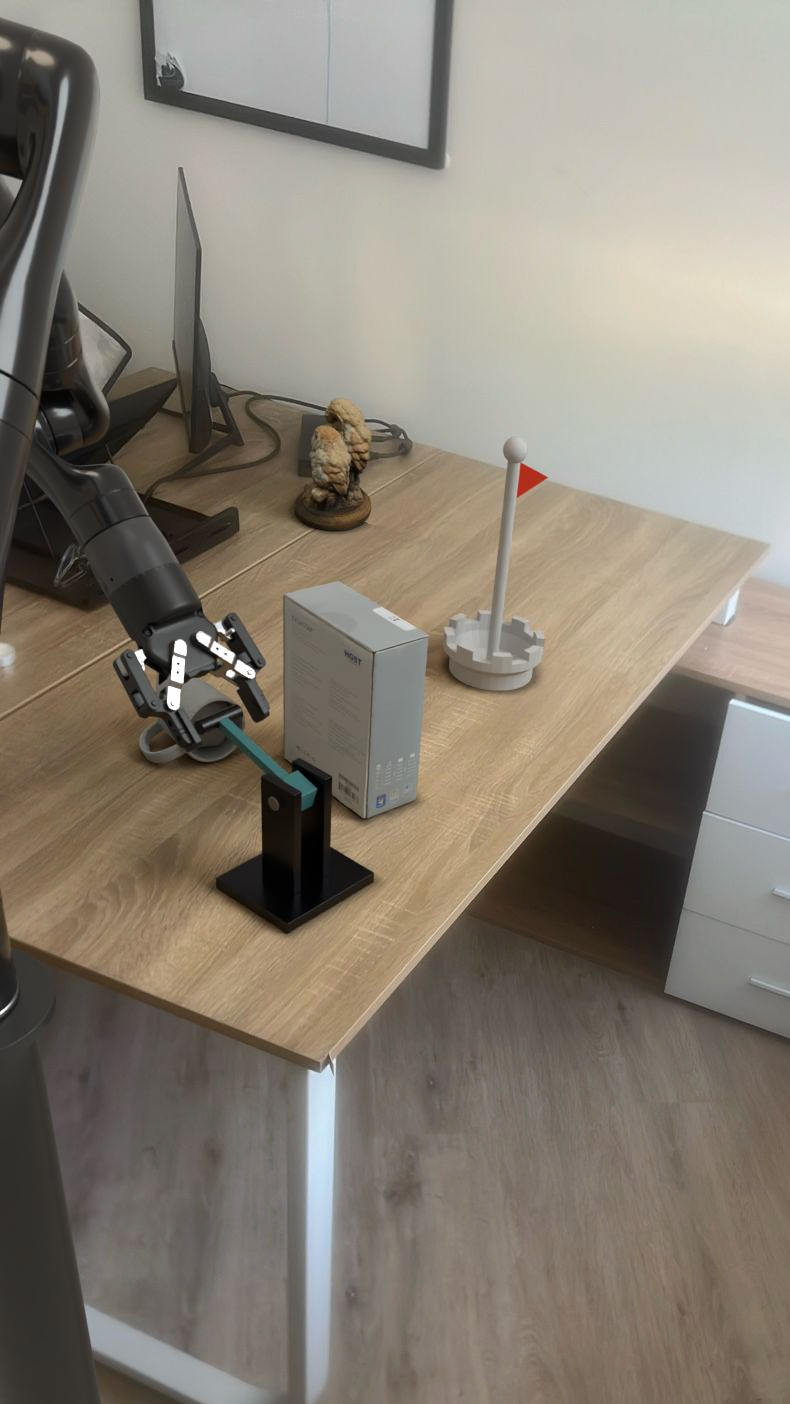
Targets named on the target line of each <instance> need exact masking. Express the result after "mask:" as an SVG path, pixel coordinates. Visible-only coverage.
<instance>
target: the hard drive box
mask: <svg viewBox="0 0 790 1404" xmlns="http://www.w3.org/2000/svg"><path fill="white" fill-rule="evenodd" d="M282 618H283V619H282V620H283V621H282V626H283V627H282V642H283V643H282V644H283V645H282V648H283V649H282V651H283V652H282V653H283V654H282V655H283V659H282V661H283V662H282V663H283V665H282V667H283V669H282V676H283V677H282V678H283V679H282V680H283V681H282V683H283V706H282V707H283V758H284V759H285V760H287V761H288V762H289V763H290V764H292V761H293V760H295V759H297V758H301V759H303V760H305V761H306V762H308V763H310V764H312V765H313V766H315V767H317V768H319V769H320V770H322V771H324V772H326V773H327V774H329V775H331V776H332V797H334V798H336V799H337V800H338V801H339V802H340V803H342V804H343V805H344V806H346V807H347V808H348V809H350V810H352V811H353V812H354V813H355V814H357V815H358V816H359V817H360V818H361V819H370V818H372V817H376V816H377V815H380V814H382V813H385V812H387V811H390V810H393V809H395V808H398V807H401V806H403V805H405V804H408V803H411V802H413V801H416V800H417V793H418V781H419V770H420V769H419V768H420V754H421V741H422V728H423V715H424V701H425V689H426V688H425V687H426V676H427V675H426V673H427V661H428V660H427V659H428V647H429V638H430V635H429V634H428V633H426V632H424V631H423V630H422V629H419V628H418V627H417V626H415V625H414V624H411V623H410V622H408V621H406V620H405V619H403V618H402V617H400V616H398V615H396V614H395V613H393V612H392V611H390V610H388V609H386V608H385V607H383V606H382V605H380V604H378V603H376V602H375V601H373V600H371V599H369V598H368V597H366V596H365V595H363V594H361V593H359V592H358V591H356V590H354V589H353V588H351V587H349V586H347V585H346V584H344V583H342V582H341V581H339V580H337V581H332V582H328V583H324V584H320V585H316V586H311V587H307V588H303V589H299V590H298V589H297V590H295V591H291V592H285V593H283V595H282Z"/></svg>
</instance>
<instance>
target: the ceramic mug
mask: <svg viewBox="0 0 790 1404" xmlns="http://www.w3.org/2000/svg"><path fill="white" fill-rule="evenodd" d="M234 704H237V705H239V704H238V703H237V702H236V701H235V700H233V699H232V698H230V697H229V696H227V695H226V694H225V693H223V692H222V691H220V690H219V689H218V688H216V687H215V686H213V685H212V684H210V683H209V682H207V681H206V680H204V679H201V678H192V679H191V680H189V681H188V682H187V683H185V684H183V685H182V688H181V690H180V704H179V709H182V708H184V710H185V712H186V714H187V715H188V717H189V719H190V721H191V722H192V724H193V726H194V722H195V721H197V720H199V719H201V718H204V717H206V716H208V715H211V714H213V713H216V712H218V711H220V710H223V709H225V708H227V707H230V706H232V705H234ZM233 723H234V724H235V725H236V726H237V727H238V728H239V729H240V730H242V731H243V732H244V733H245V728H246V727H245V726H246V724H245V723H246V722H245V716H244V714H243V717H242V718H241V719H238V720H236V721H234V722H233ZM163 731H164V732H165V733H166V734H167V735H168V736H169V737H170V738H172V739H173V741H175V739H174V737H173V736H172V734H171V732H170V731H169V729H168V727H167V725H166V724H165V722H164V721H163V720H162V719H161V718H159V717H156V720H155V721H154V722H152V723H151V724H149V725H148V726H147V727H146V728H145V729H144V730H143V732H141V734H140V736H139V739H138V746H139V748H140V751H141V752H142V754H143V756H145V759H147V760H148V761H149V762H151V763H153V764H165V763H169V762H172V761H174V760H176V759H178V758H180V757H182V756H183V755H185V754H187V755H188V756H189V757H191V758H192V759H194V760H195V761H197V762H202V763H214V762H218V761H220V760H223V759H225V758H227V757H229V756H230V755H231V754H232V753H233V752H234V751H235V750H236V749H237V748H238V747H237V746H236V745H235V744H234V743H233V742H232V741H230V740H229V739H228V738H227V737H226V736H225V735H224V734H223V733H222V732H221V731H220V730H219V729H215V730H213V731H211V732H208V733H206V734H204V735H199V734H198V735H199V736H200V738H201V740H202V745H201V746H200V747H198V748H197V749H196V750H194V751H191V752H187V751H186V750H185V749H184V748H181V747H180V746H179V745H178V744H177V743H176V744H174V745H172V746H170V747H167V748H165V749H161V750H158V751H151V750H150V749H151V748H150V746H149V745H150V743H151V742H152V740H153V739H154V738H156V736H158V735H159V734H160V733H161V732H163Z"/></svg>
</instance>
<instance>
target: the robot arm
mask: <svg viewBox="0 0 790 1404" xmlns="http://www.w3.org/2000/svg"><path fill="white" fill-rule="evenodd" d="M100 87H101V86H100V80H99V75H98V70H97V68H96V65H95V63H94V60H93V58H92V56H91V55H90V54H89V53H88V52H87V50H86V49H84V48H83V47H82V46H81V45H79V44H77V43H75V42H73V41H71V40H70V39H67V38H64V37H62V36H59V35H56V34H53V33H50V32H47V31H46V30H45V31H44V30H41V29H39V28H36V27H32V26H29V25H26V24H23V23H20V22H16V21H13V20H11V19H8V18H4V17H1V16H0V634H1V632H2V620H3V611H4V602H5V601H4V600H5V590H6V581H7V574H8V568H9V567H8V566H9V561H10V554H11V549H12V542H13V538H14V532H15V526H16V520H17V514H18V510H19V504H20V500H21V495H22V490H23V486H24V480H25V478H26V477H25V476H26V474H27V475H28V476H29V477H30V478H31V480H33V481H34V483H35V484H36V485H37V486H38V487H39V488H40V489H41V490H42V491H43V492H44V494H45V495H46V496H47V497H48V498H49V499H50V501H51V502H52V503H53V504H54V505H55V507H56V508H57V510H58V511H59V512H60V513H61V516H62V517H63V518H64V520H65V523H66V524H67V525H68V527H69V529H70V531H71V532H72V534H73V536H74V537H75V540H76V541H77V543H78V545H79V546H80V548H81V549H82V551H83V554H84V555H85V557H86V559H87V562H88V564H89V567H90V569H91V572H92V574H93V576H94V578H95V579H96V582H97V583H98V585H99V586H100V588H101V591H102V592H103V593H104V596H105V597H106V599H107V600H108V603H109V605H110V606H111V607H112V609H113V611H114V613H115V615H116V616H117V618H118V620H119V621H120V623H121V625H122V627H123V629H124V631H125V632H126V634H127V635H128V637H129V638H130V640H131V641H133V642H135V643H136V646H137V650H132V649H129V648H127V649H124V651H122V652H121V653H120V654H119V655H118V656H117V657H116V658H115V659H113V661H112V667H113V669H114V671H115V673H116V675H117V677H118V679H119V681H120V683H121V684H122V687H123V689H124V691H125V693H126V695H127V697H128V698H129V700H130V702H131V704H132V706H133V708H134V710H135V712H136V714H137V716H138V717H139V718H140V719H144V720H146V719H148V718H157V717H159V718H161V719H162V720H163V721H164V722H165V724H166V725H167V727H168V729H169V731H170V732H171V734H172V736H173V737H174V739H175V740H174V739H173V740H174V741H175V743H176V744H178V745H179V746H180V747H181V748H184V749H185V750H186V751H187V752H191V751H194V750H196V749H197V748H198V747H200V746H201V745H202V740H201V738H200V736H199V735H198V733H197V731H196V729H195V728H194V726H193V724H192V722H191V721H190V719H189V717H188V715H187V714H186V712H185V710H184V708H182V709H179V704H180V690H181V688H182V685H183V684H185V683H187V682H188V681H189V680H191V679H192V678H199V679H201V678H202V677H206V676H207V675H209V674H210V675H212V677H215V678H218V679H223V680H225V681H227V682H229V683H230V684H232V685H233V686H235V687H236V688H237V689H236V690H235V692H236V693H237V695H238V696H239V699H240V700H241V702H242V705H243V706H244V707H245V709H246V711H247V712H248V714H249V716H250V718H251V720H252V722H253V723H255V724H258V723H260V722H263V721H264V720H265V719H267V718H268V717H270V713H271V712H270V709H271V708H270V702H269V701H268V699H267V698H266V696H265V694H264V692H263V691H262V689H261V687H260V685H259V683H258V681H257V675H258V673H259V672H260V671H261V670H262V669H263V668H264V667H266V664H267V661H266V659H265V656H263V654H262V652H261V651H260V649H259V648H258V646H257V644H256V643H255V641H254V639H253V638H252V636H251V635H250V633H249V632H248V630H247V628H246V627H245V625H244V623H243V622H242V620H241V618H240V616H238V614H237V613H235V612H232V611H231V612H229V613H228V614H227V615H225V616H224V617H222V618H221V619H220V620H218V621H215V622H212V621H211V620H210V619H208V617H207V616H206V615H205V613H204V610H203V604H202V601H201V598H200V597H199V595H198V593H197V591H196V590H195V588H194V587H193V585H192V583H191V581H190V579H189V578H188V576H187V574H186V571H185V570H184V568H183V566H182V565H181V563H180V562H179V559H178V558H177V556H176V554H175V553H174V551H173V548H172V547H171V545H170V543H169V542H168V540H167V538H166V537H165V536H164V534H163V532H161V530H160V529H159V528H158V526H157V525H156V523H155V521H154V520H153V519H152V518H151V516H150V513H149V512H148V510H147V508H146V506H145V504H144V503H143V501H142V499H141V497H140V496H139V494H138V492H137V490H136V488H135V487H134V485H133V483H132V482H131V480H130V478H129V477H128V475H127V473H126V472H125V471H124V470H123V468H121V467H120V466H118V465H116V464H113V463H98V464H97V463H96V464H88V465H87V464H86V465H78V464H72V463H70V462H68V461H66V460H65V459H63V458H62V457H63V456H66V455H69V454H71V453H74V452H77V451H79V450H82V449H85V448H87V447H90V446H93V445H96V444H97V443H99V442H100V441H102V440H103V438H104V437H105V436H106V434H107V433H108V430H109V428H110V424H111V411H110V407H109V404H108V402H107V400H106V397H105V395H104V393H103V391H102V389H101V388H100V386H99V384H98V382H97V380H96V378H95V377H94V374H93V373H92V370H91V368H90V366H89V363H88V360H87V358H86V355H85V351H84V348H83V346H84V345H83V339H82V337H83V336H82V329H81V321H80V311H79V303H78V298H77V295H76V292H75V291H76V290H75V289H74V285H73V283H72V280H71V278H70V276H69V273H68V272H67V270H66V268H65V267H64V266H65V262H66V258H67V255H68V251H69V248H70V244H71V239H72V236H73V233H74V228H75V225H76V221H77V217H78V213H79V211H80V206H81V202H82V198H83V194H84V191H85V188H86V183H87V179H88V176H89V171H90V166H91V163H92V159H93V155H94V150H95V145H96V140H97V134H98V128H99V119H100V108H101V107H100V106H101V97H100V96H101V88H100ZM4 176H5V177H8V178H11V179H15V180H18V181H21V183H20V187H19V189H18V190H17V191H18V192H17V194H16V196H15V195H14V194H13V191H12V190H11V188H10V187H9V185H8V183H7V182H6V179H5V178H4ZM219 641H220V642H222V643H225V644H226V646H227V647H225V646H224V645H222V644H220V643H219ZM218 660H219V661H218ZM146 666H147V667H148V668H150V669H152V670H153V671H155V672H156V679H155V689H154V688H153V686H152V684H151V682H150V680H149V678H148V676H147V674H146V672H145V670H146ZM9 934H10V933H9V927H8V923H7V918H6V912H5V907H4V901H3V895H2V891H1V888H0V1022H1V1021H3V1020H4V1019H5V1018H6V1017H8V1016H9V1015H10V1014H11V1012H12V1011H13V1010H14V1009H15V1007H16V1005H17V1003H18V1001H19V998H20V987H19V982H18V978H17V975H16V969H15V966H14V961H13V955H12V950H11V947H12V944H11V939H10V935H9Z"/></svg>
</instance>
